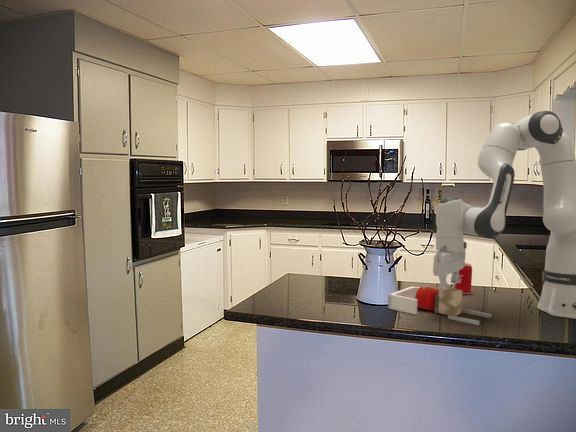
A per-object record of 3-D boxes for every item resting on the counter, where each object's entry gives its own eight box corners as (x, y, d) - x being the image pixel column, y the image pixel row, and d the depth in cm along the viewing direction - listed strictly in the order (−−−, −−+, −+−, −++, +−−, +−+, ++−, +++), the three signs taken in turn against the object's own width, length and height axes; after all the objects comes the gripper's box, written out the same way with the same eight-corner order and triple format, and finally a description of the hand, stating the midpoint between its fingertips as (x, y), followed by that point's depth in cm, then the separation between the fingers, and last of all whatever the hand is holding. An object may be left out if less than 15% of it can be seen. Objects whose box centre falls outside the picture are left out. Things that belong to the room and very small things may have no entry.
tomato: (426, 304, 176) (427, 284, 175) (446, 310, 168) (447, 289, 168) (408, 307, 171) (409, 287, 171) (427, 314, 164) (428, 292, 163)
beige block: (462, 312, 165) (463, 289, 164) (453, 317, 160) (455, 293, 159) (442, 308, 169) (444, 286, 169) (434, 312, 164) (435, 289, 163)
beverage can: (457, 290, 199) (459, 262, 198) (473, 293, 195) (474, 264, 194) (452, 293, 194) (453, 264, 193) (467, 295, 190) (469, 266, 189)
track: (491, 317, 161) (491, 314, 161) (478, 325, 152) (478, 321, 152) (461, 311, 168) (461, 308, 167) (447, 318, 159) (447, 315, 158)
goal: (438, 304, 177) (438, 290, 176) (415, 314, 163) (415, 300, 162) (411, 298, 183) (412, 286, 183) (387, 308, 170) (388, 294, 169)
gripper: (447, 249, 152) (447, 292, 153) (468, 243, 168) (468, 281, 169) (428, 247, 156) (428, 289, 157) (450, 241, 172) (450, 279, 173)
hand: (448, 285), depth 163 cm, fingers open, 8 cm apart
